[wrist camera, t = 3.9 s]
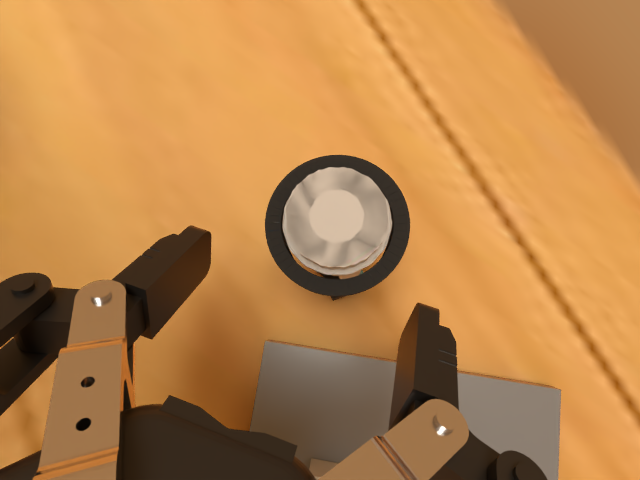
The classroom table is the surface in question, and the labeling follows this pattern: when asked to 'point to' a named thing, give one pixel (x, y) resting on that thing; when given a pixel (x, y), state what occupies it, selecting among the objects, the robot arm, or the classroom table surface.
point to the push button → (337, 225)
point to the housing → (389, 406)
